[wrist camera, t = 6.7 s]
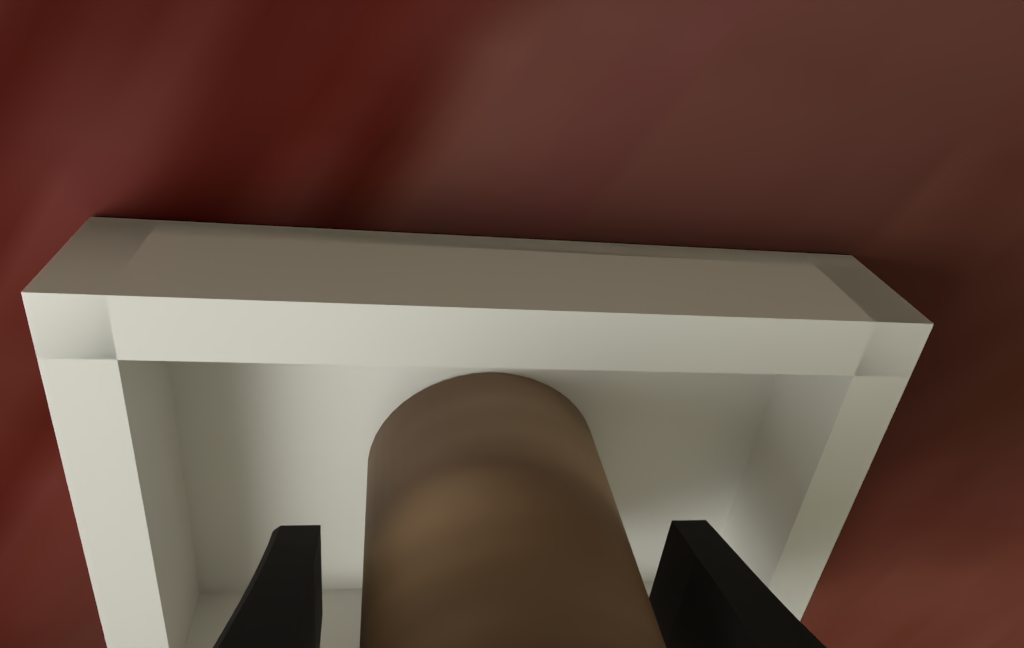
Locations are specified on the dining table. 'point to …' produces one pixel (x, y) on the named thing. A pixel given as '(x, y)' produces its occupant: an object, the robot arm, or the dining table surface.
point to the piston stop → (496, 526)
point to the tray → (429, 360)
